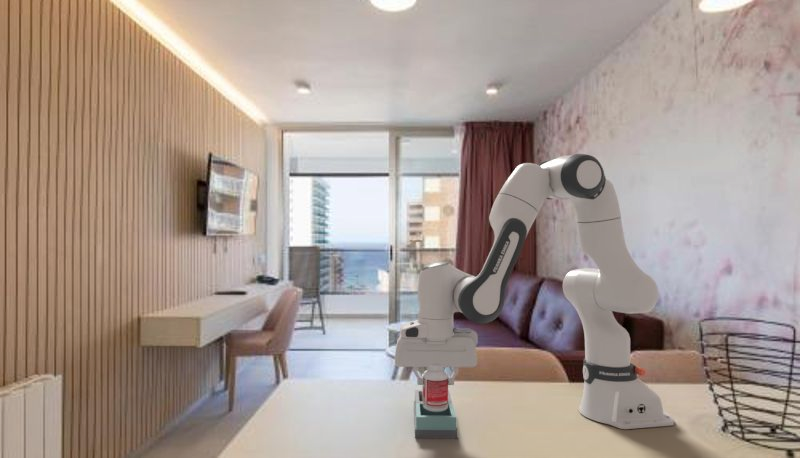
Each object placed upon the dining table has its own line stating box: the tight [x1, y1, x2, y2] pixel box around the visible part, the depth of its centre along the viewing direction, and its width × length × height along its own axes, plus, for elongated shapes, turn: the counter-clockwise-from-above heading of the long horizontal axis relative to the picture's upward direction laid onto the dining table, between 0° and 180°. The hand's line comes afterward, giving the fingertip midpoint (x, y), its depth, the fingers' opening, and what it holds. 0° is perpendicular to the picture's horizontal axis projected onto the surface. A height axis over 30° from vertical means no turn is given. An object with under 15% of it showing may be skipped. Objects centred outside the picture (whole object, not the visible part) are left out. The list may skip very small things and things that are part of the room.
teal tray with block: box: [413, 373, 458, 439], centre depth 114 cm, size 10×18×12 cm, turn 179°
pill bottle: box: [422, 365, 449, 412], centre depth 110 cm, size 6×6×11 cm
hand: (435, 384), depth 110 cm, fingers closed on pill bottle, 6 cm apart
